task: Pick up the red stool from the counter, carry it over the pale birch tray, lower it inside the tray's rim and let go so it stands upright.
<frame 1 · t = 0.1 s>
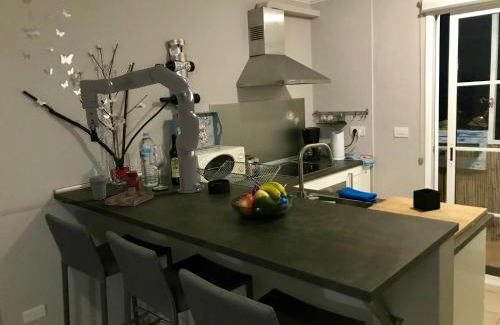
hand: (94, 140, 204), 31 cm above the counter, tool pointing down, fingers open, 9 cm apart
coffee cup: (100, 199, 216), on the counter
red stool: (133, 193, 227), on the counter
tray: (130, 201, 208), on the counter
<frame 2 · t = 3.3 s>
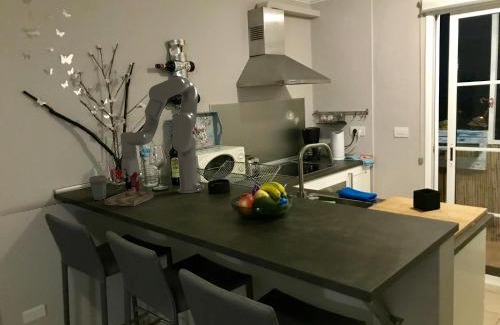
hand: (132, 187, 227), 3 cm above the counter, tool pointing down, fingers closed on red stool, 6 cm apart
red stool: (133, 193, 227), on the counter, touching gripper
everything else where it was.
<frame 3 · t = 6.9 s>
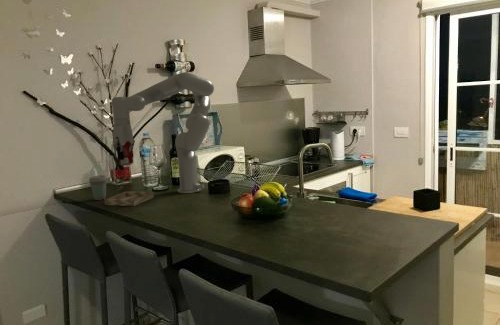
hand: (125, 158, 206), 22 cm above the counter, tool pointing down, fingers closed on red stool, 6 cm apart
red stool: (126, 165, 207), point 18 cm above the counter, touching gripper
everything else where it was.
when the fingers open (5 cm above the counter, at t = 10.7 s): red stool drops 1 cm, resting on tray.
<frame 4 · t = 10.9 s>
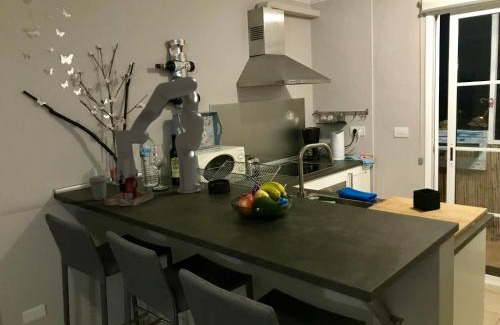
hand: (128, 189, 208), 6 cm above the counter, tool pointing down, fingers open, 9 cm apart
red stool: (130, 199, 208), point 1 cm above the counter, touching tray
everything else where it was.
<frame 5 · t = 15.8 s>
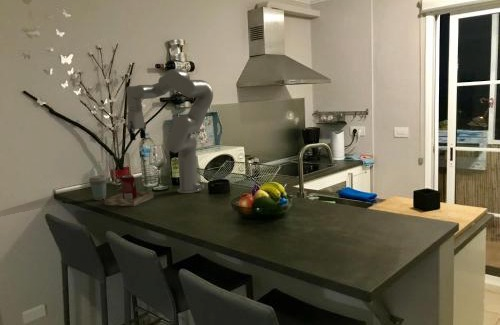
hand: (138, 139, 235), 28 cm above the counter, tool pointing down, fingers open, 9 cm apart
nothing on the counter moved.
at the end: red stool inside the target area on the tray (0.1 cm from its centre), point 0.6 cm above the tray's base; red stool tilted 0°; the gripper is holding nothing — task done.
